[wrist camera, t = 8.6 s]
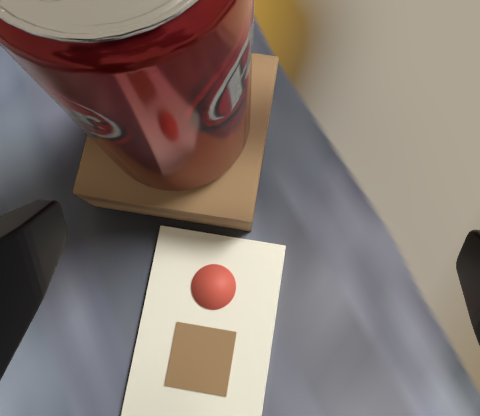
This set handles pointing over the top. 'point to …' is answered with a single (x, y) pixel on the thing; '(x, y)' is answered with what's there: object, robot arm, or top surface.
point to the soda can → (144, 78)
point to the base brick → (199, 199)
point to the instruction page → (205, 327)
